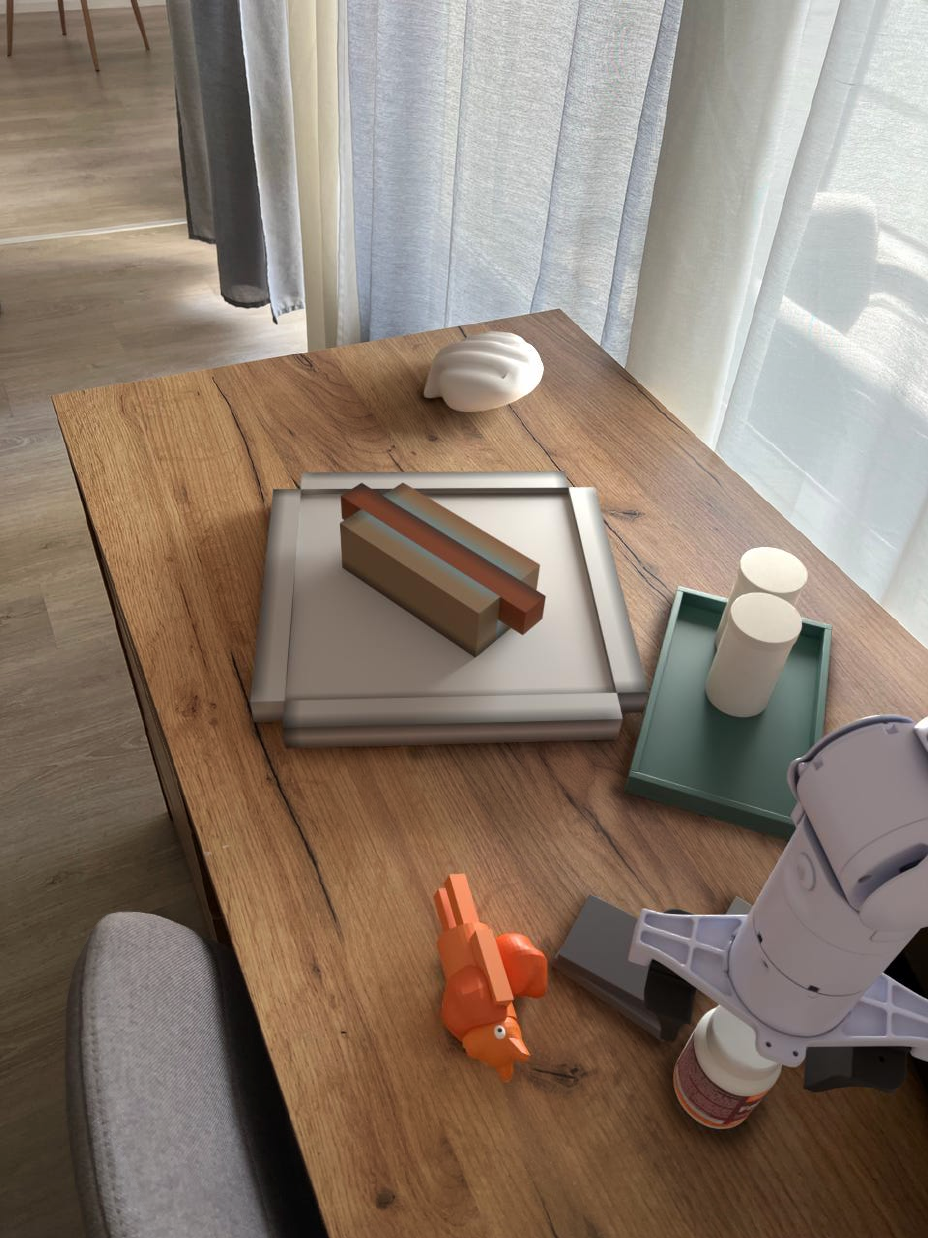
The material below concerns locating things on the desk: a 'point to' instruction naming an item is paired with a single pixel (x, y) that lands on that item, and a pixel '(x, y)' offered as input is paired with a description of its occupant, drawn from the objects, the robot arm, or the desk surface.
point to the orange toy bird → (484, 979)
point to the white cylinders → (756, 631)
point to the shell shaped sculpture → (484, 372)
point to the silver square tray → (442, 612)
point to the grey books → (613, 959)
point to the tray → (727, 725)
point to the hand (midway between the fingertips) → (738, 1047)
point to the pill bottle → (722, 1071)
